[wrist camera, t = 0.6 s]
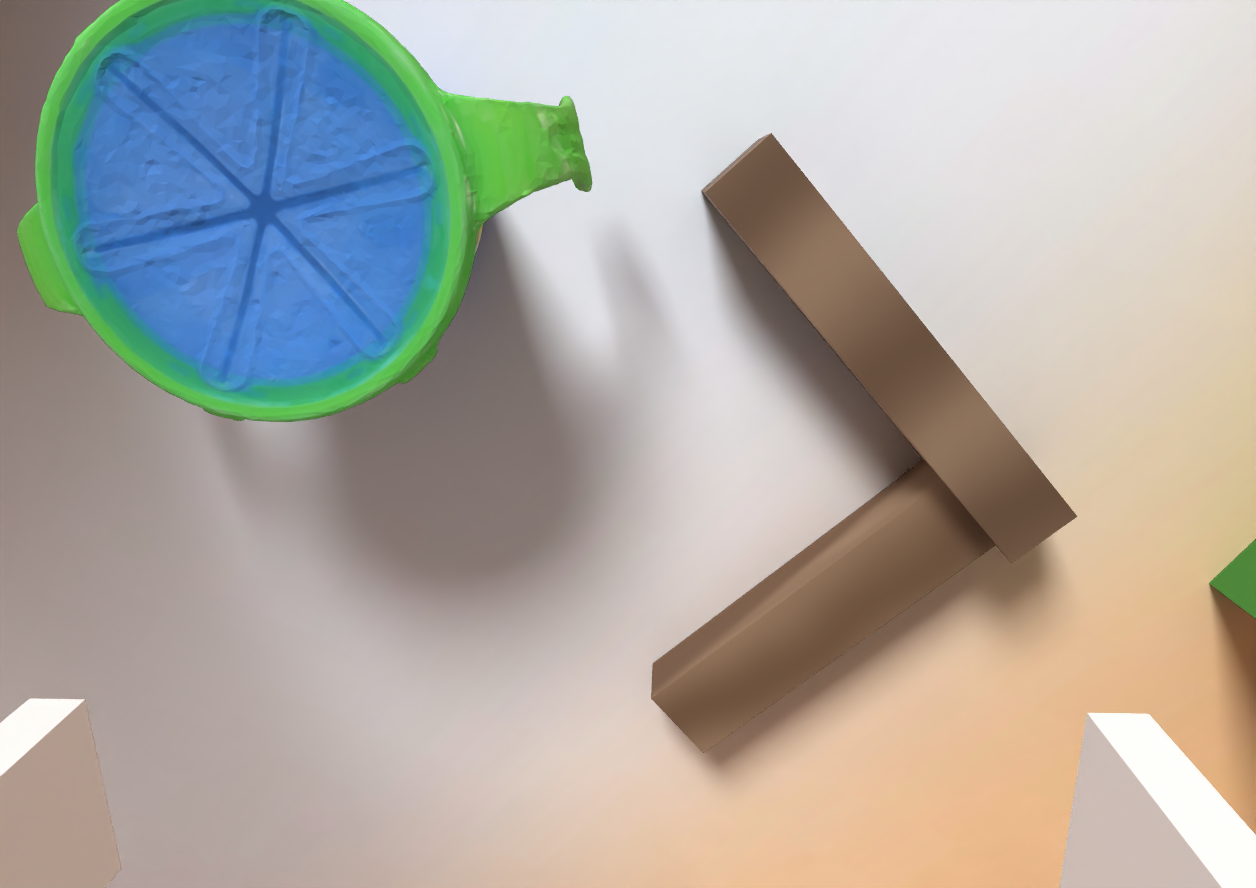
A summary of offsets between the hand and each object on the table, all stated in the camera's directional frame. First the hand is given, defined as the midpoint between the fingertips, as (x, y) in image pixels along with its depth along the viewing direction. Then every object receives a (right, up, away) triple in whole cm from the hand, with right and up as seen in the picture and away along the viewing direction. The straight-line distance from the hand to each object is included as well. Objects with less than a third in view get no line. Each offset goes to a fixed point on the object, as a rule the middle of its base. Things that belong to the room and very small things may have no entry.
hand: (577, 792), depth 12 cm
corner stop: (+4, +4, +21) cm, 22 cm away
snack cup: (-8, +13, +19) cm, 25 cm away
